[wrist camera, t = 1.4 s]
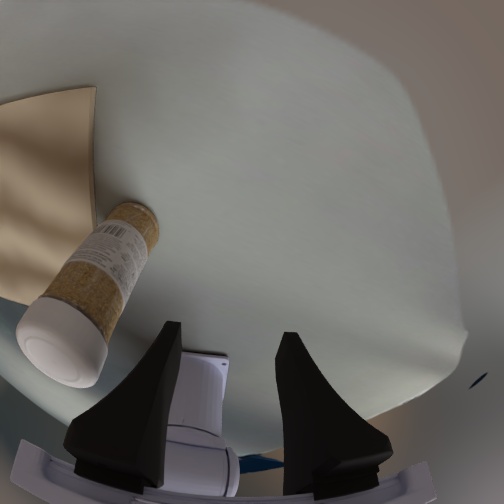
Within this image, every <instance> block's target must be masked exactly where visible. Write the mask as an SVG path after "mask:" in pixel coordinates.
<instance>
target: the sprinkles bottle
mask: <svg viewBox="0 0 504 504" xmlns="http://www.w3.org/2000/svg"><path fill="white" fill-rule="evenodd" d="M158 237H159V225H158V222H157V219H156V218H155V216H154V215H153V214H152V213H151V211H150V210H149V209H147V208H146V207H144V206H143V205H140V204H137V203H131V202H128V203H123V204H120V205H118V206H117V207H116V208H114V209H113V210H112V211H111V213H110V215H109V216H108V217H107V218H106V220H105V221H104V222H102V223H101V224H99V225H98V226H97V227H96V228H95V229H94V230H93V232H92V233H91V234H90V235H89V236H88V237H87V238H86V239H85V240H84V241H83V242H82V243H81V245H80V246H79V247H78V248H77V249H76V250H75V251H74V253H73V254H72V255H71V256H70V257H69V259H68V260H67V261H66V262H65V263H64V265H63V266H62V268H61V270H60V272H59V273H58V274H57V276H56V277H55V278H54V280H53V281H52V282H51V284H50V285H49V286H48V288H47V289H46V290H45V292H44V293H43V294H42V295H40V296H39V297H38V299H36V300H35V301H33V302H32V303H31V305H30V306H29V308H28V309H27V311H26V312H25V313H24V315H23V317H22V318H21V320H20V321H19V323H18V325H17V328H16V337H17V341H18V344H19V346H20V348H21V350H22V351H23V353H24V354H25V355H26V357H27V358H28V359H29V360H30V361H31V362H32V363H33V364H34V365H35V366H36V367H37V368H38V369H39V370H41V371H42V372H43V373H44V374H46V375H47V376H49V377H50V378H52V379H54V380H56V381H58V382H60V383H62V384H65V385H68V386H71V387H76V388H87V387H90V386H92V385H94V384H95V383H96V381H97V380H98V377H99V375H100V372H101V370H102V367H103V365H104V362H105V359H106V357H107V350H108V342H109V339H110V337H111V335H112V332H113V330H114V328H115V325H116V323H117V321H118V319H119V317H120V315H121V313H122V312H123V309H124V307H125V305H126V303H127V301H128V299H129V296H130V294H131V292H132V290H133V288H134V286H135V284H136V282H137V280H138V277H139V275H140V273H141V271H142V269H143V267H144V265H145V263H146V260H147V257H148V255H149V253H150V252H151V250H152V248H153V247H154V246H155V245H156V243H157V241H158Z"/></svg>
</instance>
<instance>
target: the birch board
mask: <svg viewBox="0 0 504 504" xmlns="http://www.w3.org/2000/svg"><path fill="white" fill-rule="evenodd" d="M95 96H96V87H87V88H79V89H72V90H66V91H60V92H54V93H49V94H44V95H39V96H34V97H30V98H26V99H22V100H18V101H14V102H10V103H7V104H3V105H0V297H3V298H6V299H9V300H12V301H15V302H18V303H22V304H25V305H28V306H30V305H31V303H32V302H33V301H35V300H36V299H38V297H39V296H40V295H42V294H43V293H44V292H45V290H46V289H47V288H48V286H49V285H50V284H51V282H52V281H53V280H54V278H55V277H56V276H57V274H58V273H59V272H60V270H61V268H62V266H63V265H64V263H65V262H66V261H67V260H68V259H69V257H70V256H71V255H72V254H73V253H74V251H75V250H76V249H77V248H78V247H79V246H80V245H81V243H82V242H83V241H84V240H85V239H86V238H87V237H88V236H89V235H90V234H91V233H92V232H93V230H94V229H95V228H96V227H97V219H96V208H95V194H94V173H93V130H94V109H95Z"/></svg>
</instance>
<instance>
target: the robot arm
mask: <svg viewBox="0 0 504 504" xmlns="http://www.w3.org/2000/svg"><path fill="white" fill-rule="evenodd" d="M228 365H229V358H228V357H226V356H216V355H206V354H197V353H189V352H182V340H181V322H173V321H167V322H165V324H164V326H163V328H162V330H161V331H160V333H159V335H158V336H157V338H156V339H155V341H154V343H153V344H152V345H151V347H150V348H149V350H148V351H147V352H146V354H145V355H144V356H143V358H142V359H141V360H140V361H139V363H138V364H137V365H136V366H135V368H134V369H133V370H132V371H131V372H130V373H129V374H128V376H127V377H126V378H125V379H124V380H123V381H122V382H121V383H120V384H119V385H118V386H117V387H116V388H115V389H113V390H112V391H111V392H110V393H109V394H108V395H107V396H106V397H104V398H103V399H102V400H100V401H99V402H98V403H97V404H95V405H94V406H93V407H91V408H90V409H89V410H87V411H85V412H84V413H82V414H81V415H79V416H78V417H76V418H74V419H73V420H72V422H71V424H70V426H69V428H68V430H67V433H66V436H65V440H64V443H63V446H64V448H65V449H66V450H67V451H68V452H69V453H70V454H72V455H73V456H74V457H75V458H77V460H76V464H75V466H74V465H71V464H69V463H66V462H64V461H62V460H59V459H57V458H55V457H53V456H51V455H50V454H49V453H48V452H46V451H45V450H43V449H41V448H39V447H37V446H35V445H33V444H31V443H29V442H27V441H26V440H24V439H22V440H21V442H20V445H19V448H18V452H17V455H16V458H15V462H14V465H13V469H12V473H11V477H10V480H11V481H12V482H13V483H15V484H17V485H18V486H20V487H22V488H23V489H25V490H27V491H28V492H30V493H32V494H34V495H35V496H37V497H39V498H41V499H43V500H45V501H47V502H48V503H50V504H427V503H429V502H431V501H433V500H435V499H436V498H437V496H436V492H435V489H434V485H433V481H432V478H431V475H430V471H429V468H428V465H427V462H426V461H424V462H421V463H419V464H416V465H413V466H410V467H408V468H406V469H404V470H402V471H400V472H399V473H398V474H394V475H391V476H388V477H385V478H381V479H378V477H377V473H378V472H379V467H378V465H379V464H381V463H383V462H384V461H386V460H387V459H389V458H390V457H391V456H392V454H393V450H392V447H391V443H390V440H389V438H388V436H386V435H385V434H383V433H382V432H380V431H379V430H377V429H376V428H374V427H373V426H372V425H370V424H369V423H368V422H366V421H365V420H364V419H363V418H362V417H360V416H359V415H358V414H357V413H356V412H355V411H354V410H353V409H352V408H351V407H349V406H348V405H347V403H346V402H345V401H344V400H343V399H342V398H341V397H340V396H339V395H338V394H337V393H336V391H335V390H334V389H333V388H332V386H331V385H330V384H329V383H328V381H327V380H326V379H325V377H324V376H323V374H322V373H321V371H320V370H319V368H318V367H317V365H316V364H315V362H314V361H313V359H312V358H311V356H310V354H309V353H308V351H307V349H306V347H305V346H304V344H303V342H302V340H301V338H300V337H299V335H298V333H297V332H284V334H283V337H282V340H281V343H280V346H279V349H278V352H277V355H276V358H275V371H276V382H277V388H278V395H279V401H280V407H281V413H282V420H283V436H284V482H283V496H274V497H234V496H235V494H236V491H237V488H238V483H239V461H238V457H237V455H236V454H235V452H234V451H233V450H232V448H230V447H226V439H225V438H221V425H222V400H223V398H224V392H225V385H226V378H227V372H228Z"/></svg>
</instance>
